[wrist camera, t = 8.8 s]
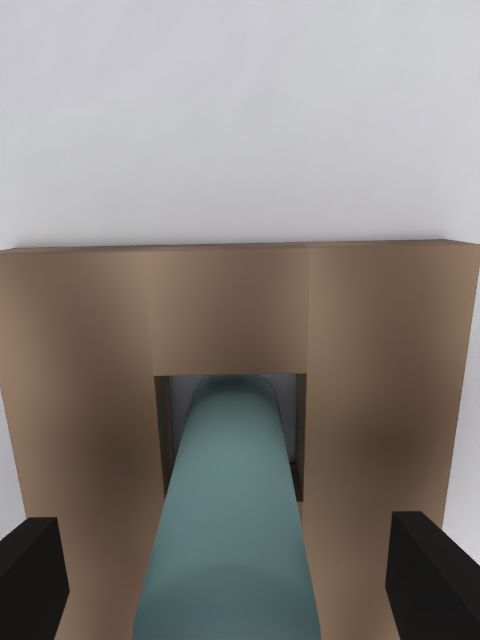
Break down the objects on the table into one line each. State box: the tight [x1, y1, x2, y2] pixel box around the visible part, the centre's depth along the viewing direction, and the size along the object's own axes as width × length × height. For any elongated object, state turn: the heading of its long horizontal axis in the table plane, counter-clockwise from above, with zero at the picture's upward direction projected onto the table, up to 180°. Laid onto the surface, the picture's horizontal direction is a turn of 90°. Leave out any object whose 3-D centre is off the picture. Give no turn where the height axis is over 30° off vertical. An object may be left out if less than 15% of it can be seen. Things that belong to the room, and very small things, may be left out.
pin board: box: [0, 239, 480, 640], centre depth 13 cm, size 14×18×5 cm
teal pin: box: [132, 374, 321, 640], centre depth 11 cm, size 3×3×8 cm
